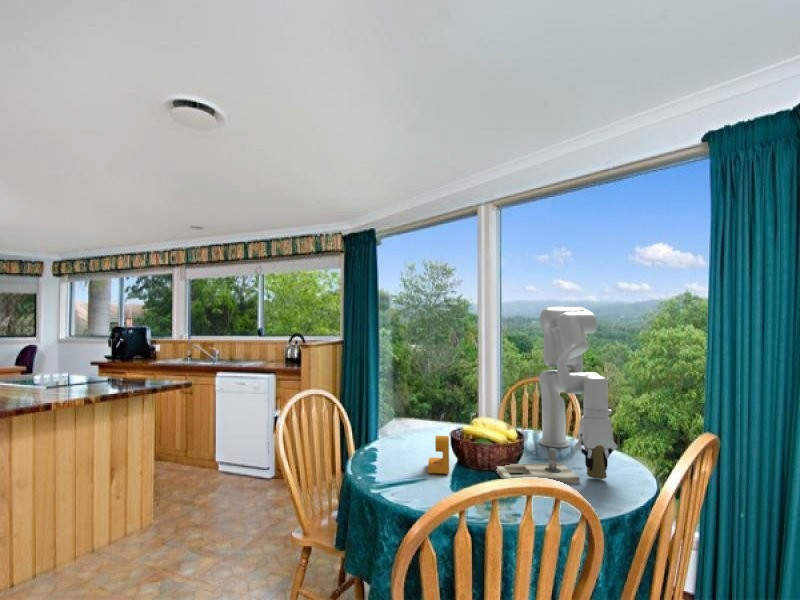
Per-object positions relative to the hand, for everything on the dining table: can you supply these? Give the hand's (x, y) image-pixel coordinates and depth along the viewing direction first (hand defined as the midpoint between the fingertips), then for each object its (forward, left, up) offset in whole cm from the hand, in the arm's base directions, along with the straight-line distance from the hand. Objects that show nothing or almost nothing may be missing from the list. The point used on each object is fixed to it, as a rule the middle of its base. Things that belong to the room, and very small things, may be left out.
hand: (596, 468), depth 143 cm
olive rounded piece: (0, 0, -2) cm, 2 cm away
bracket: (-12, -51, -4) cm, 53 cm away
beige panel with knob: (-4, -19, -4) cm, 20 cm away
